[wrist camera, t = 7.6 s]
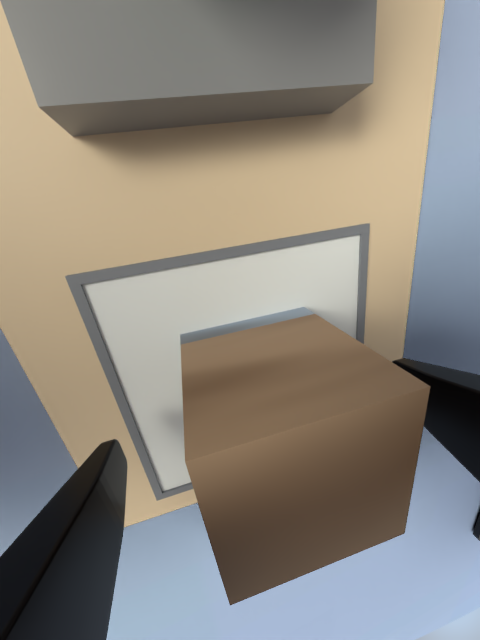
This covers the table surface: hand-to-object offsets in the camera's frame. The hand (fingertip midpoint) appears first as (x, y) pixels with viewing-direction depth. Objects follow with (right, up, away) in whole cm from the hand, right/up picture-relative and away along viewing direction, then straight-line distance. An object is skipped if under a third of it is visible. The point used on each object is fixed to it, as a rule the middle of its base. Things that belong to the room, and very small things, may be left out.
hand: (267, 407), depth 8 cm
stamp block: (0, +1, +2) cm, 2 cm away
